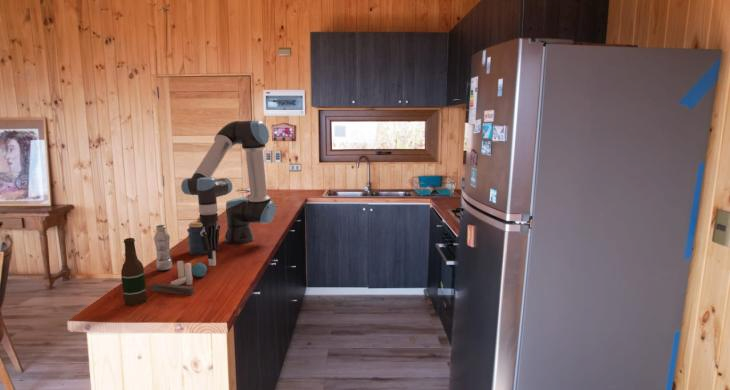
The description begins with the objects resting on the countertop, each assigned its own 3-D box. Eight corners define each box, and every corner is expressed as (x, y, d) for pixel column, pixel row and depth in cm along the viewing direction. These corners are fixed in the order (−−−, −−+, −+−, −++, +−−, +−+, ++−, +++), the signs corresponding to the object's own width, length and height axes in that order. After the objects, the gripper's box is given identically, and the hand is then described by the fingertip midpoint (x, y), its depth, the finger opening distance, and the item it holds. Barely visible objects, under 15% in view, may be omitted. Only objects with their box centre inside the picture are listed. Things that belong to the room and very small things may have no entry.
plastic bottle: (155, 272, 193) (151, 228, 190) (158, 267, 200) (154, 224, 196) (171, 271, 195) (167, 227, 192) (173, 266, 201) (169, 223, 198)
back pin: (181, 280, 184) (179, 260, 183) (186, 280, 183) (184, 260, 182) (177, 282, 182) (175, 262, 180) (182, 282, 181) (180, 262, 180)
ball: (186, 273, 184) (194, 278, 189) (199, 274, 182) (206, 279, 187) (191, 260, 187) (198, 265, 192) (204, 261, 185) (211, 266, 190)
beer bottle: (151, 297, 166) (145, 235, 162) (141, 306, 159) (134, 241, 155) (130, 298, 166) (123, 236, 162) (119, 306, 158) (112, 242, 154)
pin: (188, 282, 181) (186, 262, 179) (193, 283, 180) (192, 263, 179) (184, 284, 179) (183, 264, 177) (190, 285, 178) (188, 265, 177)
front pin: (188, 276, 184) (169, 282, 177) (191, 274, 183) (172, 280, 176) (191, 281, 184) (172, 288, 177) (193, 279, 182) (174, 285, 176)
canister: (207, 255, 216) (204, 220, 213) (183, 254, 219) (180, 219, 216) (220, 248, 229) (218, 214, 226) (198, 247, 232) (195, 214, 229)
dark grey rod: (154, 289, 174) (153, 283, 174) (194, 293, 170) (193, 286, 169) (150, 291, 172) (150, 285, 172) (191, 295, 168) (190, 288, 168)
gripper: (209, 209, 200) (213, 260, 204) (191, 216, 187) (196, 269, 191) (224, 210, 198) (228, 261, 202) (207, 216, 185) (211, 270, 189)
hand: (212, 265), depth 197 cm, fingers closed
